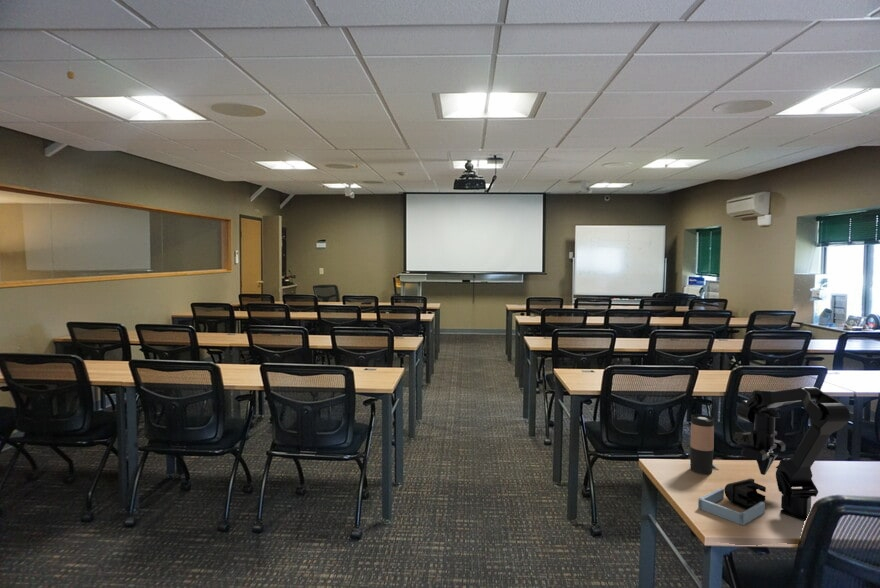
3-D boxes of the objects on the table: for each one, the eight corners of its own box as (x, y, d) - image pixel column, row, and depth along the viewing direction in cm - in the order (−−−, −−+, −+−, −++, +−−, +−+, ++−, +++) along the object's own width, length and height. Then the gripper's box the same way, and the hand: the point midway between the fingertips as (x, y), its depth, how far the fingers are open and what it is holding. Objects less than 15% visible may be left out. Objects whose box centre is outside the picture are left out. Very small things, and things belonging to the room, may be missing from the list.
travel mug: (692, 465, 191) (693, 413, 190) (714, 470, 186) (716, 416, 186) (687, 471, 185) (688, 417, 184) (710, 476, 180) (712, 421, 180)
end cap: (744, 496, 165) (745, 475, 165) (766, 505, 158) (766, 484, 158) (723, 501, 161) (724, 480, 161) (744, 510, 154) (745, 489, 154)
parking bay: (764, 512, 153) (764, 502, 153) (743, 525, 145) (743, 515, 145) (720, 496, 164) (720, 487, 164) (698, 508, 156) (698, 498, 156)
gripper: (750, 417, 178) (749, 461, 178) (725, 426, 167) (724, 472, 168) (786, 425, 169) (785, 471, 169) (762, 435, 158) (760, 484, 159)
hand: (763, 474), depth 166 cm, fingers closed
